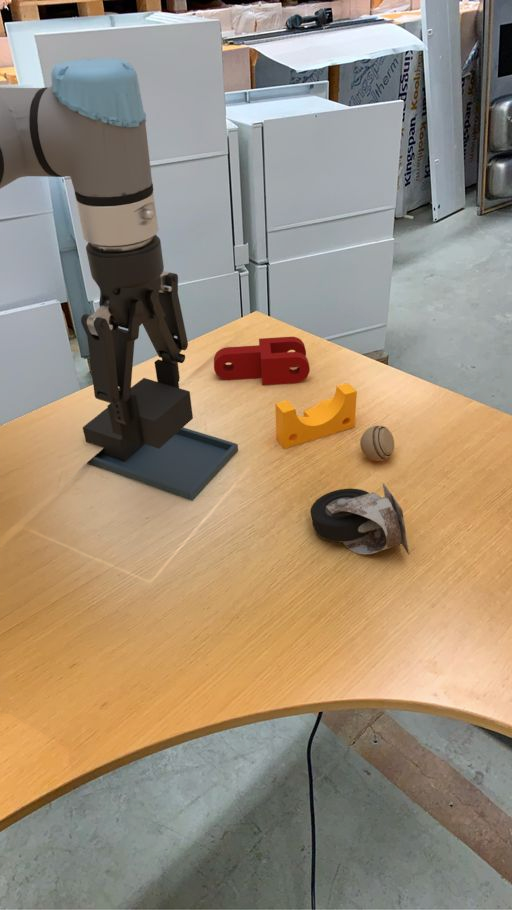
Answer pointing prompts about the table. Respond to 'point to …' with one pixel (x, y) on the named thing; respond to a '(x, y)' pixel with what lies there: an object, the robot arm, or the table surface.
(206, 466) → the dark blue tray
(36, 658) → the table surface
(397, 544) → the caster wheel
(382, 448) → the tan ball
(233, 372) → the mechanical linkage
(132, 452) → the pad
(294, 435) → the pipe clamp
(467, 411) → the table surface
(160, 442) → the dark rectangular block
